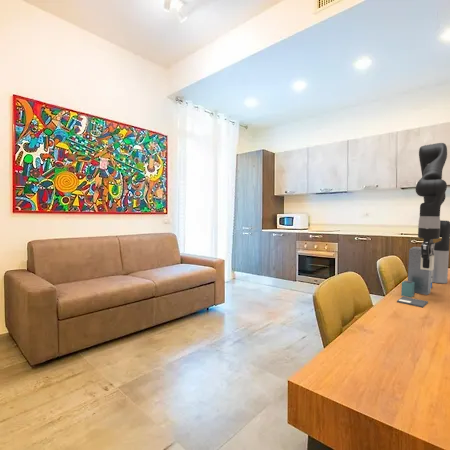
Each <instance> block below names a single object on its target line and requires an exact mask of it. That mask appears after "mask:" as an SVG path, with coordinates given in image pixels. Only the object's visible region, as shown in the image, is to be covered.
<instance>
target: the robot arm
mask: <svg viewBox="0 0 450 450" xmlns="http://www.w3.org/2000/svg"><path fill="white" fill-rule="evenodd" d="M418 158H419V165H420V171H421V178H420V179H419V180H418V181H417V183H416V186H415V193H416V194H417V196H419V197H421V198H422V197H423V202H422V203H420V206H419V218H418V226H417V227H418V228H417V229H418V230H417V237H418V238H419V239H423V242H421V245H420V247H421V257H422V259H423V268H429V262H430V254H432V255H434V269H433V276H432V283H435V284H448V275H449V274H448V273H449V256H450V254H449V253H450V221H449V220H441V207H442V205H443V204H444V202H445V200H446V191H447V188H448V184H447V182H446V180H445V179H443V169H444V166H445V164H446V162H447V158H448V147H447V145H446V143H444V142H437V143H432V144H431V143H430V144H425V145H422V146H420V147H419V148H418ZM440 238H441V239H440ZM439 239H440V240H439ZM434 240H439V241H436V242H434ZM425 254H427V255H425Z"/></svg>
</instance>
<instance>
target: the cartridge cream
mask: <svg viewBox="0 0 450 450" xmlns="http://www.w3.org/2000/svg"><path fill="white" fill-rule="evenodd" d="M425 255H427V254H425ZM420 269H423V270H431V271H432V270H433V269H434V255H432V254H430V262H429V268H423V259H422V257H421V265H420Z"/></svg>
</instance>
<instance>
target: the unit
mask: <svg viewBox="0 0 450 450" xmlns="http://www.w3.org/2000/svg"><path fill="white" fill-rule="evenodd" d="M408 250H409V251H408V265H407V267H408V268H407V270H408V271H407V281H412V282H414V283H415V285H414V294H421V295H425V296H429V294H431V293H432V292H431V289H432V288H431V274H432V271H431V270H423V269H420V265H421V246H413V247H411V248H409V249H408Z"/></svg>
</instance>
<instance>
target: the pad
mask: <svg viewBox="0 0 450 450" xmlns="http://www.w3.org/2000/svg"><path fill="white" fill-rule="evenodd" d="M396 303H400V304H403V305H409V306H413V307H414V306H415V307H419V308H424V307H425V306H427V304H428V303H429V301H427V300H423V299H418V298H414V297H412V298H411V297H406V296H401V297H400V298H398V299H397V300H396Z"/></svg>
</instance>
